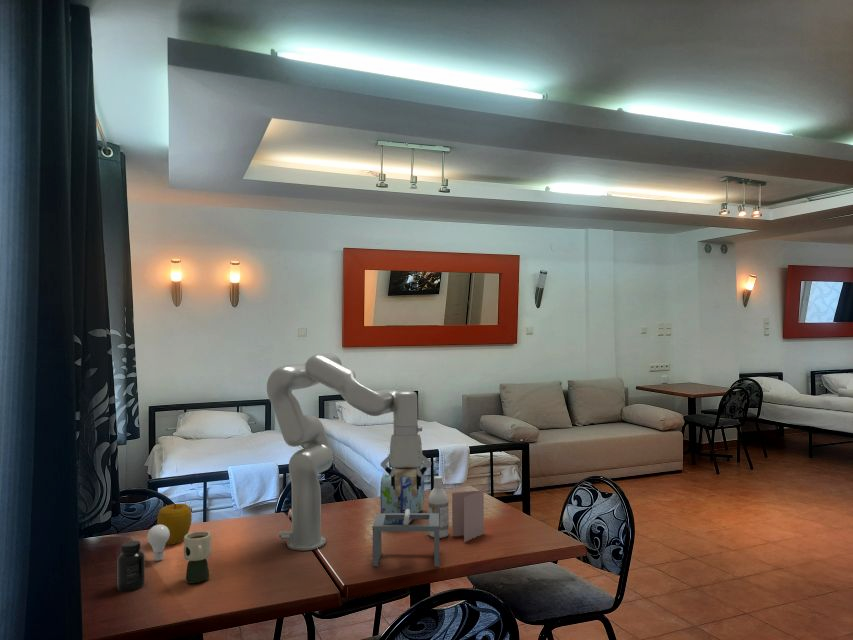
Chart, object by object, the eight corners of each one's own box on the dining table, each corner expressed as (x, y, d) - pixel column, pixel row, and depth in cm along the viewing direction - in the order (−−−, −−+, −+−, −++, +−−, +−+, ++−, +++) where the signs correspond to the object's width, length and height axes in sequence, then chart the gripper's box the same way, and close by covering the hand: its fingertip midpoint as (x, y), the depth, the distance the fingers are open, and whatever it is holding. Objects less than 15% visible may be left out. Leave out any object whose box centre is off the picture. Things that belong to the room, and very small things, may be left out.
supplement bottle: (148, 581, 171) (148, 539, 171) (138, 591, 164) (138, 547, 165) (124, 581, 171) (124, 539, 171) (112, 592, 164) (112, 548, 164)
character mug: (181, 576, 175) (181, 531, 175) (207, 571, 178) (207, 527, 178) (186, 590, 165) (186, 542, 165) (213, 585, 168) (213, 538, 169)
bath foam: (426, 532, 211) (425, 475, 211) (444, 530, 213) (444, 473, 213) (432, 539, 204) (431, 480, 205) (451, 537, 206) (450, 478, 207)
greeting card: (482, 532, 211) (482, 489, 211) (490, 539, 203) (490, 495, 204) (451, 535, 208) (451, 492, 208) (458, 543, 200) (458, 497, 201)
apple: (184, 548, 197) (184, 508, 197) (150, 548, 197) (151, 509, 197) (196, 536, 208) (196, 499, 208) (165, 537, 208) (165, 499, 208)
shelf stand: (372, 566, 181) (372, 521, 181) (376, 550, 194) (376, 508, 194) (439, 566, 181) (439, 521, 181) (438, 550, 194) (438, 508, 194)
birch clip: (394, 496, 184) (394, 470, 184) (396, 490, 191) (396, 465, 191) (416, 496, 184) (416, 470, 184) (417, 490, 191) (416, 465, 191)
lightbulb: (148, 558, 188) (148, 523, 189) (170, 555, 191) (170, 520, 191) (146, 565, 183) (146, 529, 183) (169, 562, 185) (169, 526, 185)
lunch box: (405, 531, 213) (404, 471, 213) (377, 528, 216) (376, 469, 216) (427, 510, 237) (427, 456, 238) (402, 507, 241) (402, 455, 241)
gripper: (433, 428, 192) (434, 485, 191) (379, 429, 192) (379, 485, 191) (433, 432, 184) (434, 491, 184) (376, 433, 184) (377, 491, 184)
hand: (406, 487), depth 188 cm, fingers closed on birch clip, 6 cm apart
